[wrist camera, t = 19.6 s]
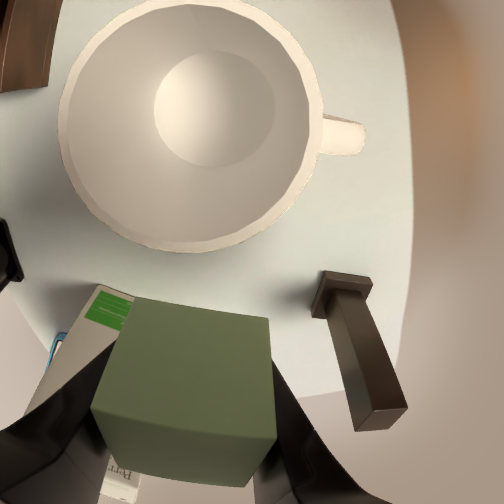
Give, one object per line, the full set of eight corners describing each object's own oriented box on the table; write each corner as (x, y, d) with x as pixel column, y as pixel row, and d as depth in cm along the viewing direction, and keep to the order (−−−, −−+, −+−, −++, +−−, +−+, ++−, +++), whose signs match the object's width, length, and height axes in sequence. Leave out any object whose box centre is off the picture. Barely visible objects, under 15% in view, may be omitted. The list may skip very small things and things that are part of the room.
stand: (352, 314, 26) (392, 434, 15) (310, 310, 25) (336, 439, 15) (369, 277, 24) (427, 398, 13) (324, 270, 23) (366, 402, 13)
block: (245, 392, 11) (244, 487, 7) (141, 376, 11) (117, 468, 7) (268, 317, 9) (278, 439, 6) (135, 295, 9) (88, 407, 5)
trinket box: (47, 86, 16) (0, 92, 11) (-15, 94, 15) (-58, 105, 11) (78, -50, 10) (41, -71, 6) (9, -27, 10) (-30, -35, 5)
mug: (146, 172, 20) (71, 244, 11) (151, 42, 15) (63, 12, 6) (309, 183, 20) (354, 266, 11) (326, 53, 16) (398, 23, 7)
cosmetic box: (185, 313, 26) (146, 491, 12) (170, 358, 29) (138, 507, 15) (94, 281, 24) (9, 435, 10) (91, 331, 27) (32, 466, 14)
